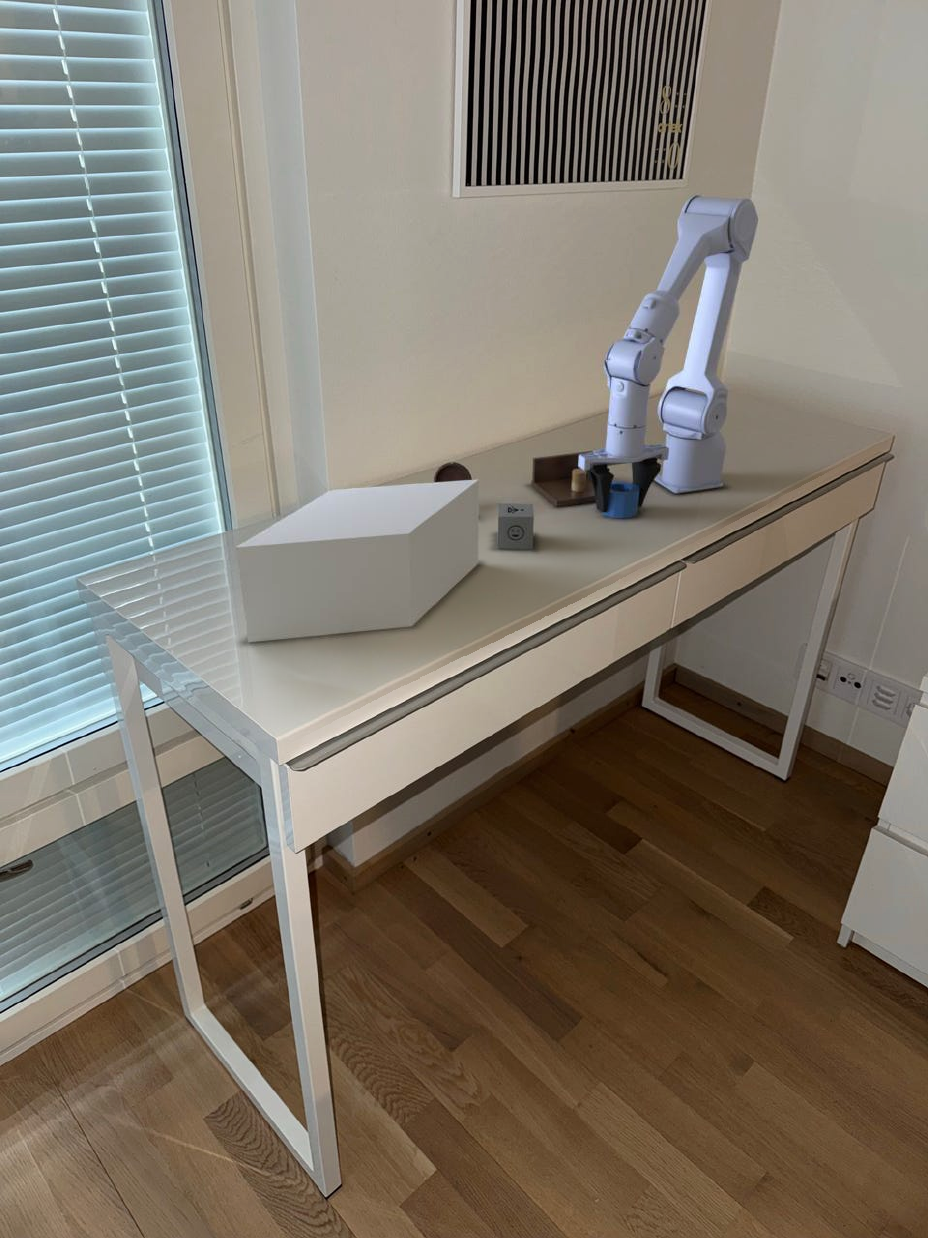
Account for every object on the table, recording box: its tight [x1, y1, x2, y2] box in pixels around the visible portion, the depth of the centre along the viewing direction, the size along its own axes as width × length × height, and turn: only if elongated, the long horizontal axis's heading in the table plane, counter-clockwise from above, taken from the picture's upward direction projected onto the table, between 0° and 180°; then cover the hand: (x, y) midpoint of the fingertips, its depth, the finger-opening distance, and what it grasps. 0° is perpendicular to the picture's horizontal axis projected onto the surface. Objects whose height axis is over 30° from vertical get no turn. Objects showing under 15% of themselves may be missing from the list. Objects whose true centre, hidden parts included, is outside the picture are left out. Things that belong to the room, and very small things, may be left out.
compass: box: [433, 461, 473, 483], centre depth 140 cm, size 8×8×7 cm
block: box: [235, 479, 480, 643], centre depth 114 cm, size 18×35×12 cm, turn 128°
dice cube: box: [497, 502, 535, 550], centre depth 132 cm, size 5×5×5 cm
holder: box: [530, 450, 596, 508], centre depth 149 cm, size 11×10×5 cm
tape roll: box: [601, 480, 639, 519], centre depth 142 cm, size 6×6×4 cm
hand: (619, 507), depth 143 cm, fingers closed on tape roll, 6 cm apart
